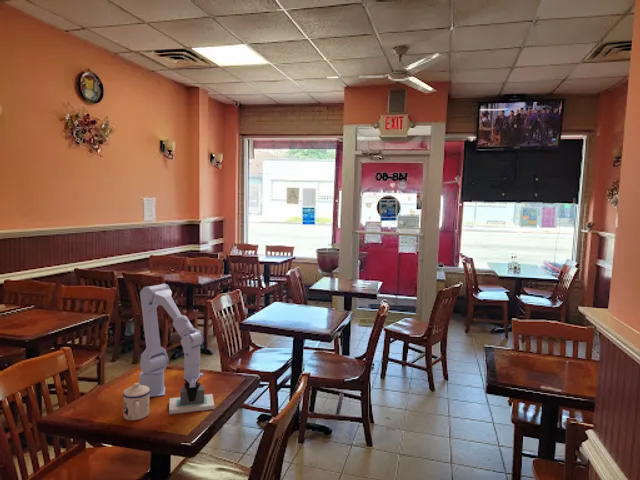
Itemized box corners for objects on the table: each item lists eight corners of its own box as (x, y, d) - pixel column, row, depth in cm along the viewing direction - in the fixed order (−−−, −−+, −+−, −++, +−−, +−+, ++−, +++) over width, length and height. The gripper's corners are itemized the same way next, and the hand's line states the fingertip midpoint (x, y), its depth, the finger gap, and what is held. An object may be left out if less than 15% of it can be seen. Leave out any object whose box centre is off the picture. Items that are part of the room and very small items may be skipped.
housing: (180, 405, 159) (180, 392, 158) (180, 400, 163) (180, 387, 162) (204, 402, 162) (204, 389, 161) (203, 397, 166) (203, 385, 165)
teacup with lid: (122, 411, 156) (122, 380, 155) (149, 407, 160) (149, 377, 159) (122, 427, 145) (122, 394, 144) (151, 422, 149) (151, 390, 148)
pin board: (169, 414, 155) (169, 401, 155) (169, 402, 164) (169, 390, 164) (214, 409, 160) (214, 397, 160) (212, 397, 170) (212, 386, 169)
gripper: (204, 369, 155) (203, 405, 156) (202, 356, 169) (201, 389, 170) (183, 371, 153) (183, 407, 154) (183, 357, 167) (183, 391, 168)
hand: (191, 398), depth 162 cm, fingers closed on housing, 4 cm apart
